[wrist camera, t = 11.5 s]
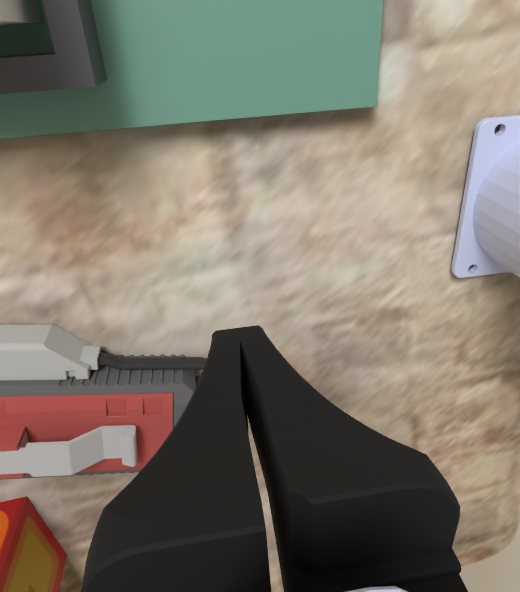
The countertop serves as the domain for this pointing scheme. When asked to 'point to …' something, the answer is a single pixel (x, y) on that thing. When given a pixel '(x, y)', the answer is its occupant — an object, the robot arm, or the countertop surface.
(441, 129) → the countertop surface
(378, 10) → the board
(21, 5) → the plug
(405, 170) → the countertop surface
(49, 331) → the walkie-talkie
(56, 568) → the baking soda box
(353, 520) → the robot arm
